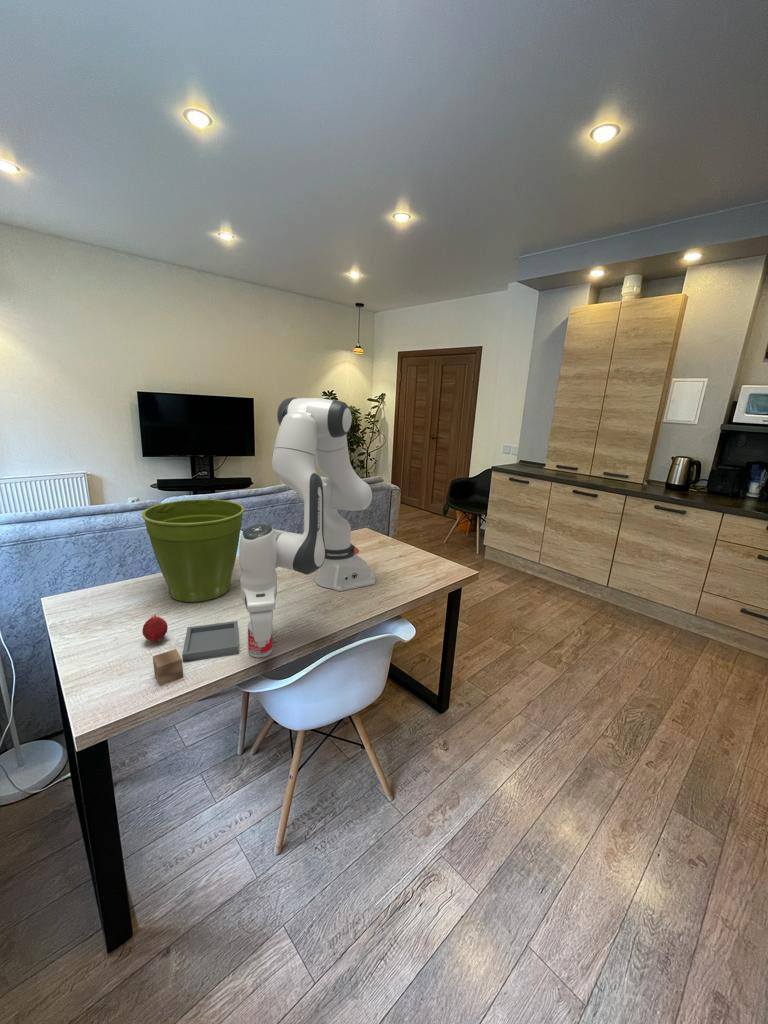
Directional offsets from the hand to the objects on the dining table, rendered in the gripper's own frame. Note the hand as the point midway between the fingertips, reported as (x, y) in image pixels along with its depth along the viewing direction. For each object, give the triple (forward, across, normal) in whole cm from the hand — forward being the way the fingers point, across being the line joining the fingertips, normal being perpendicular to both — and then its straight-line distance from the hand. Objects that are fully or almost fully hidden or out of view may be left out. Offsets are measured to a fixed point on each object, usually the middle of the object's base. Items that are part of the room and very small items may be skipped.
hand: (260, 637), depth 103 cm
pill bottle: (+4, 0, 0) cm, 4 cm away
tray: (+4, -7, -12) cm, 14 cm away
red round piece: (+4, -12, -26) cm, 29 cm away
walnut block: (+4, +4, -21) cm, 22 cm away
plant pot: (+4, -41, -17) cm, 45 cm away
